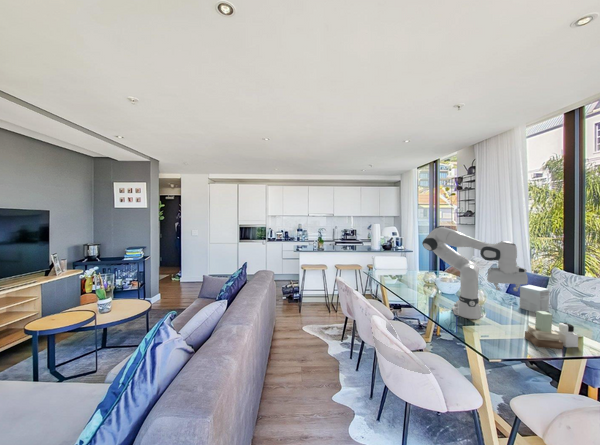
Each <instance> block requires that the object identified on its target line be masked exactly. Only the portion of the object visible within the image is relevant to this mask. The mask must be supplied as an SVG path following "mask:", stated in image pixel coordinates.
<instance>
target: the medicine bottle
mask: <svg viewBox="0 0 600 445" xmlns="http://www.w3.org/2000/svg"><path fill="white" fill-rule="evenodd" d="M553 331H555V332H556V333H558V334H560V335H559V340H560V341H561V342H563V348H564V347H565V348H578V346H579V334H577V333H575V332H574V331H575V327H574V325H572V324H571V323H567V322H559V324H558V329H554V330H553Z"/></svg>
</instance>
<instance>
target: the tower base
mask: <svg viewBox="0 0 600 445" xmlns="http://www.w3.org/2000/svg"><path fill="white" fill-rule="evenodd" d="M524 338H525V339H526V340H528V341H529V342H530V343H532V344H533V346H535V347H537V348H543V349H550V350H551V349H554V350H564V346H563V342H561V341H560V340H559V341H550V340H539V339H537V338H536V337H534V336H533V335H532V334H530V333H529V332H528V330H525V331H524Z"/></svg>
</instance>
